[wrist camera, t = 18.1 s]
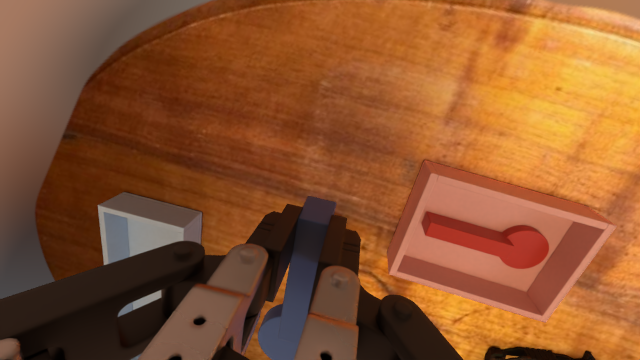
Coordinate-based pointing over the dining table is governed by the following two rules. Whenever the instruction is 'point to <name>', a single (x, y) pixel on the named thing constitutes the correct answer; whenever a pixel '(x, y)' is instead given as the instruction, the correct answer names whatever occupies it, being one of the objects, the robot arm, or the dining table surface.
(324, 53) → the dining table surface
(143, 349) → the robot arm
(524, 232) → the red spoon
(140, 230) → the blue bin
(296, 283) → the blue spoon
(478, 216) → the rose bin
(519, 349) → the knife
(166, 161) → the dining table surface
